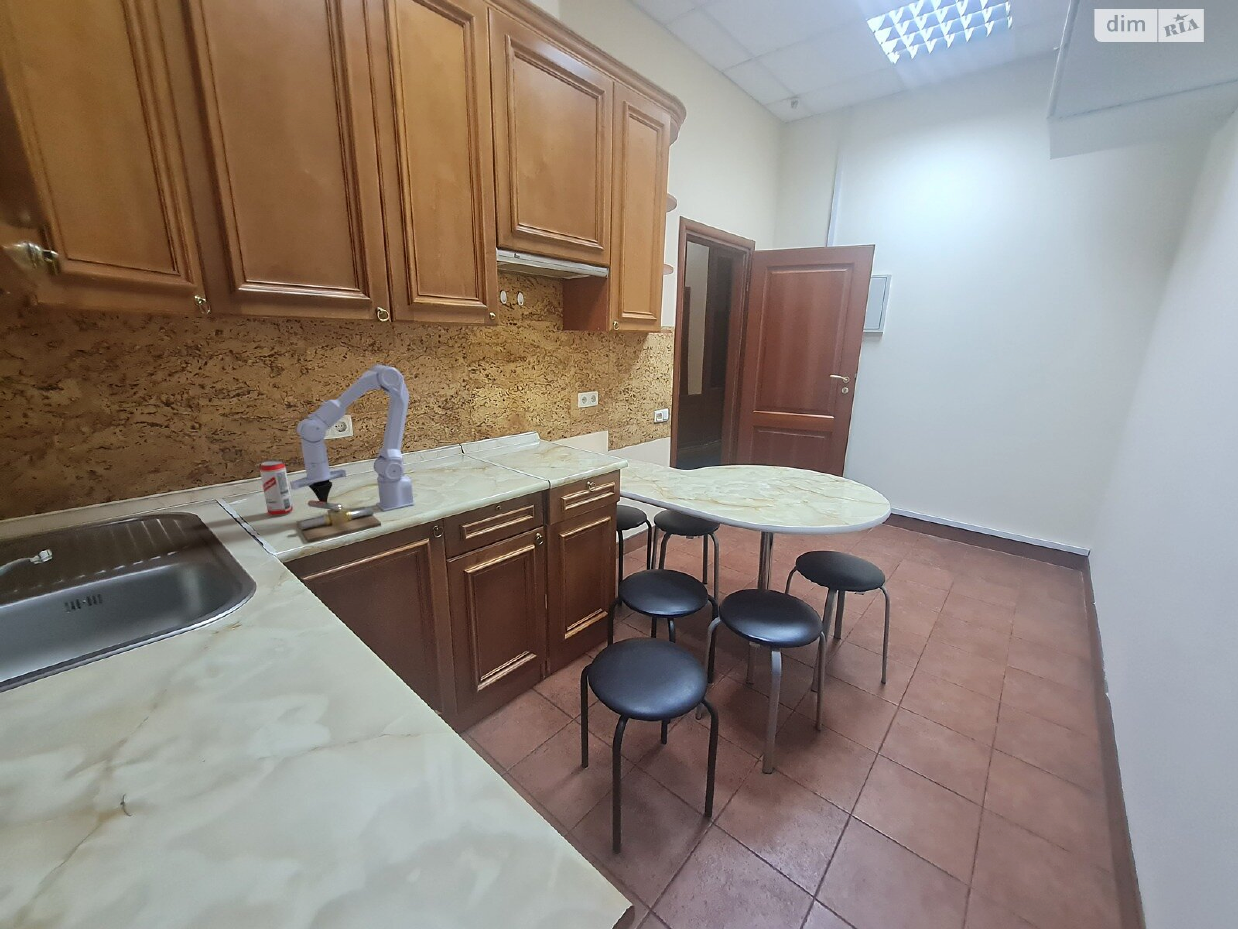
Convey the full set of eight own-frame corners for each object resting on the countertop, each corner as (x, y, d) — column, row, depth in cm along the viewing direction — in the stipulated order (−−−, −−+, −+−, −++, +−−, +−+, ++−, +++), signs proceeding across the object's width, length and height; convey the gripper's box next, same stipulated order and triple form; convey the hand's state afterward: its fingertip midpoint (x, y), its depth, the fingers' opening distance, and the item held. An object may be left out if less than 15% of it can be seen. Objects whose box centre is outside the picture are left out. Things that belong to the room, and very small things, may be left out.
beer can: (280, 518, 141) (271, 466, 136) (263, 516, 142) (252, 464, 138) (298, 510, 147) (289, 460, 142) (281, 508, 148) (272, 459, 144)
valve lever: (344, 509, 136) (343, 503, 136) (336, 512, 134) (335, 506, 133) (313, 504, 139) (312, 498, 139) (305, 507, 137) (304, 501, 136)
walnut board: (365, 510, 148) (364, 507, 148) (381, 525, 137) (380, 522, 136) (296, 524, 136) (296, 521, 136) (308, 543, 125) (307, 539, 125)
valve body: (370, 514, 144) (368, 500, 143) (374, 518, 141) (372, 504, 140) (300, 529, 132) (298, 515, 131) (303, 534, 129) (301, 519, 128)
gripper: (333, 453, 143) (340, 496, 147) (281, 465, 131) (289, 511, 135) (347, 457, 140) (353, 500, 143) (295, 469, 128) (303, 516, 131)
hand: (323, 506), depth 139 cm, fingers closed, pressing on valve lever
